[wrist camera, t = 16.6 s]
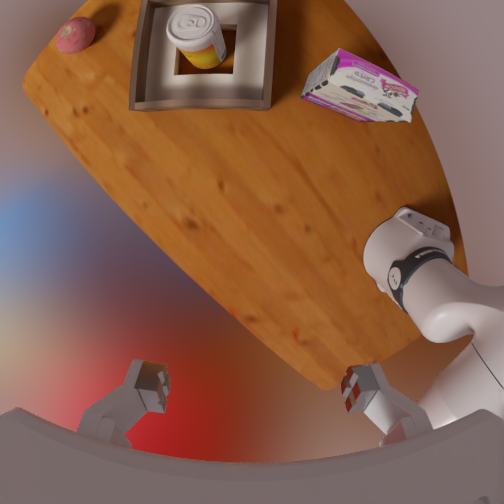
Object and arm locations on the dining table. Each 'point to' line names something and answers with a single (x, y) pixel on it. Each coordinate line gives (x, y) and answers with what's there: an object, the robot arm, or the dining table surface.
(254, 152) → the dining table surface
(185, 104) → the wooden box
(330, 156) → the dining table surface
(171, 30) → the beer can
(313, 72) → the candy bar box
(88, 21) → the apple
